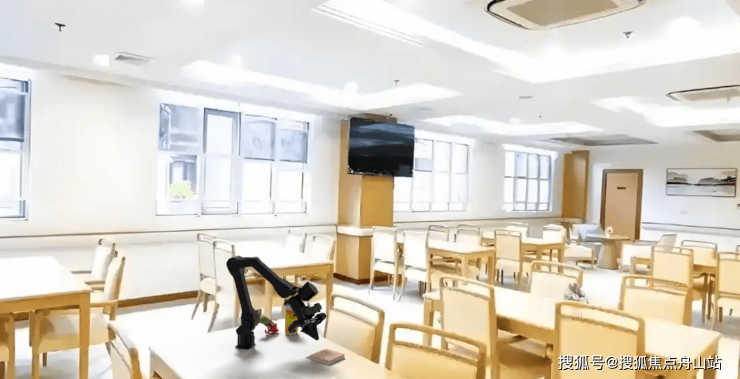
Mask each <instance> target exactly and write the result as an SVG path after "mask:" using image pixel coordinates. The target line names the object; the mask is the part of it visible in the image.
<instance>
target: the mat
mask: <svg viewBox="0 0 740 379" xmlns="http://www.w3.org/2000/svg"><path fill="white" fill-rule="evenodd" d="M304 358H305V359H308V360H311V359H310V355H308V356H306V357H304ZM344 359H345V360H346V357H344V358H343V359H341V360H338V361H336V362H334V363H332V364H329V365H328V366H331V365H333V364H335V363H337V362H340V361H342V360H344ZM319 363H321V362H319ZM321 364H322V363H321Z"/></svg>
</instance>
